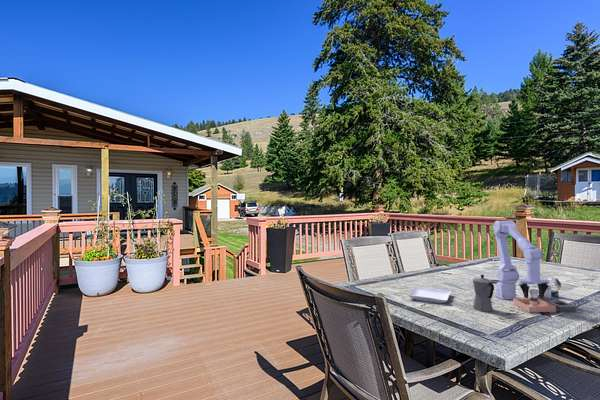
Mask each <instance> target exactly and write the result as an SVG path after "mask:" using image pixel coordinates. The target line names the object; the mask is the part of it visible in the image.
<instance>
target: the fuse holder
mask: <svg viewBox="0 0 600 400" xmlns="http://www.w3.org/2000/svg"><path fill="white" fill-rule="evenodd" d="M538 299H540V300H543V301H545V302H547V303H549V304H552V305H554V306H556V311H557V310H558V311H557V312H559V311H560V312H559V313H562V312H563V313H573V312H575V313H576V312H577V306H576V305H574V304H570V303H568V302H565V300H561V299H559V298H554V297H552V296H551V299H544V298H540V297H539V294H538Z"/></svg>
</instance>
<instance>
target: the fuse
mask: <svg viewBox="0 0 600 400" xmlns="http://www.w3.org/2000/svg"><path fill="white" fill-rule="evenodd" d="M547 285H548V288H547V289H546V291H545V293H544V297H543V298H544V299H551V290H552V285H549V284H547Z"/></svg>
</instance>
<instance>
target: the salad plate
mask: <svg viewBox="0 0 600 400" xmlns="http://www.w3.org/2000/svg"><path fill="white" fill-rule="evenodd" d="M452 292H453V291H452V290H447V289H446V290H445V289H439V288H432V287H421V286H415V287H413V288H412V290H411V291H410V292H409V293H408V294H407V296H408V297H409V298H410V299H413V300H415V299H416V301H421V300H423V302H428V301H429V303H436V304H444V303H445V304H446V302H448V299H449V297H450V295H451V293H452Z"/></svg>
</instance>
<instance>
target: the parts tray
mask: <svg viewBox="0 0 600 400" xmlns="http://www.w3.org/2000/svg"><path fill="white" fill-rule="evenodd" d="M512 300H513V303H512V304H513V305H514V306H515V307H518V308H519V309H521V310H523V311H525V312H527V313H528V314H534V313H535V314H536V313H537V312H538V313H539V312H550V313H557V310H556V306H554V305H552V304H549V303H547V302H545V301H543V300H540V299H538V306H529V304H530V300H529V298H528V299H527V298H519V299H512Z"/></svg>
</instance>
